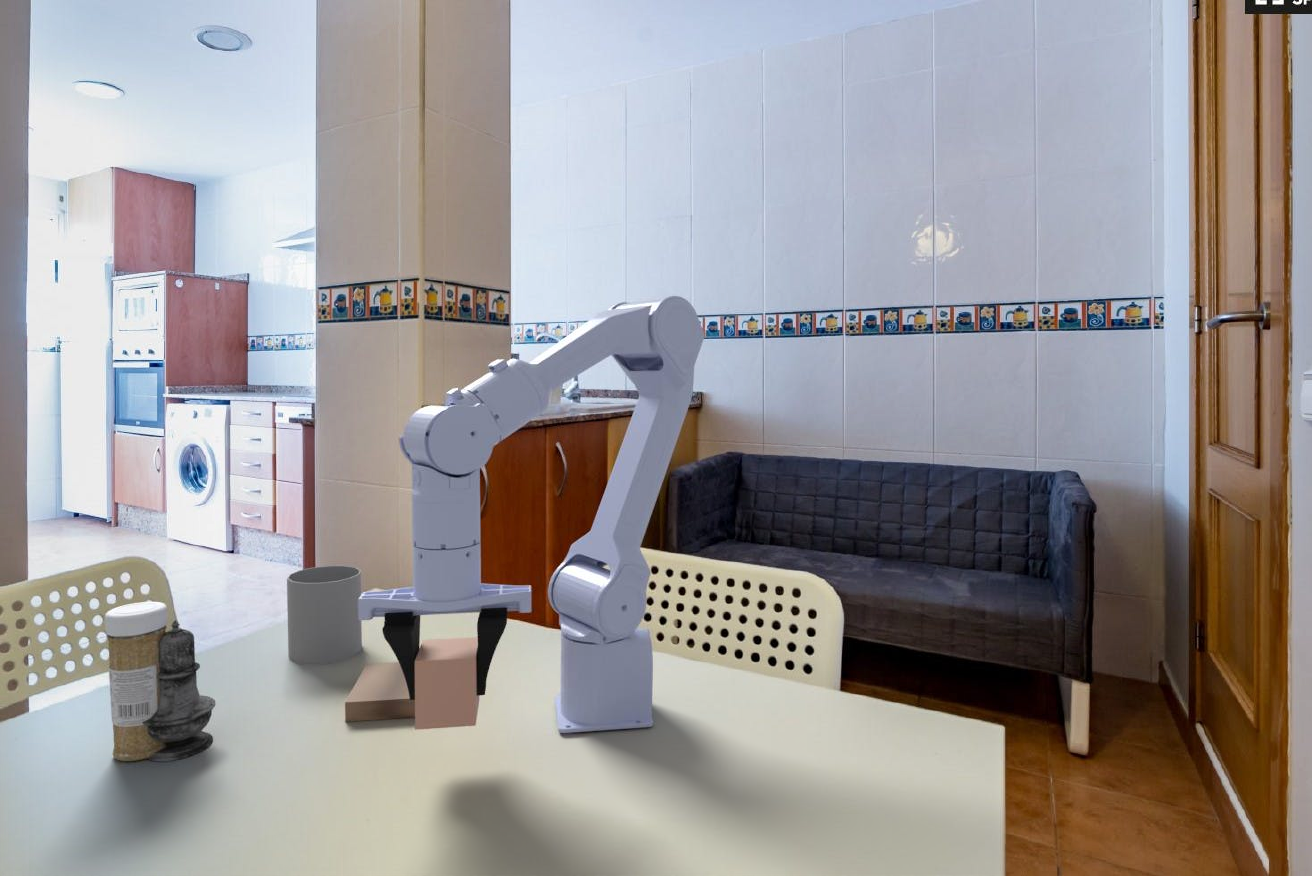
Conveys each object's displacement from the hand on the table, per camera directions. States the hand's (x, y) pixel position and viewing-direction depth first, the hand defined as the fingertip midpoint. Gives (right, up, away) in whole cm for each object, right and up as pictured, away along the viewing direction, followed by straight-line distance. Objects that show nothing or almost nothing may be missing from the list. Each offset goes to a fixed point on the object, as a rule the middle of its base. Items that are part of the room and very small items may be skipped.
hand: (448, 692), depth 63 cm
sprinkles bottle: (-29, -6, +2) cm, 29 cm away
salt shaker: (-26, -6, +3) cm, 27 cm away
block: (0, -2, 0) cm, 2 cm away
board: (-9, -6, +14) cm, 17 cm away
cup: (-23, -5, +27) cm, 36 cm away
